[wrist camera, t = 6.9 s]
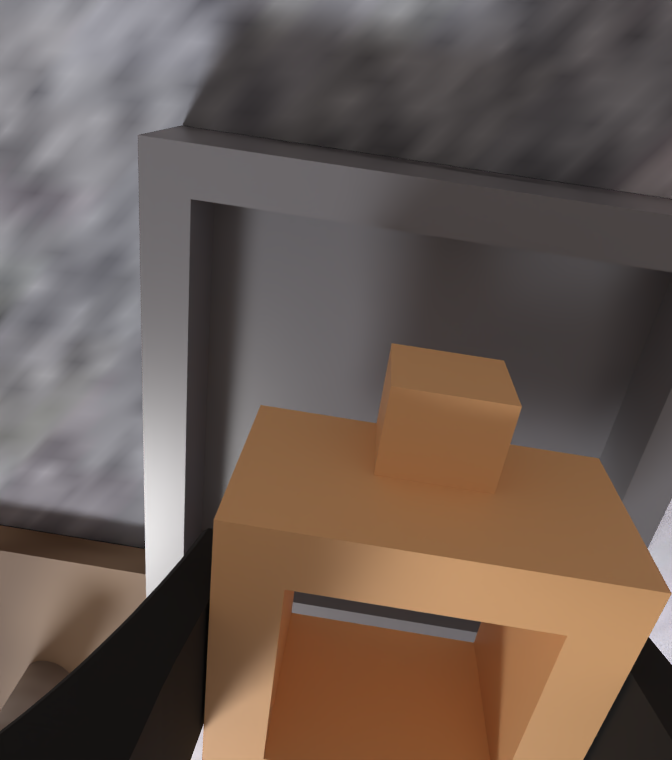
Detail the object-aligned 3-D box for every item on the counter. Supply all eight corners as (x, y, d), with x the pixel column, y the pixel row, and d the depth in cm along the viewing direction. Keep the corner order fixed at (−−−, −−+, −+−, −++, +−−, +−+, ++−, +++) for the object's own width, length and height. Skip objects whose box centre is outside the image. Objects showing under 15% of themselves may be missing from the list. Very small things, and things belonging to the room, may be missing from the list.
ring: (509, 682, 13) (539, 841, 10) (240, 637, 13) (200, 784, 10) (630, 380, 10) (721, 498, 7) (267, 323, 10) (218, 419, 7)
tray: (729, 207, 13) (798, 234, 11) (562, 605, 18) (585, 677, 16) (181, 125, 13) (137, 134, 11) (176, 541, 19) (146, 604, 16)
